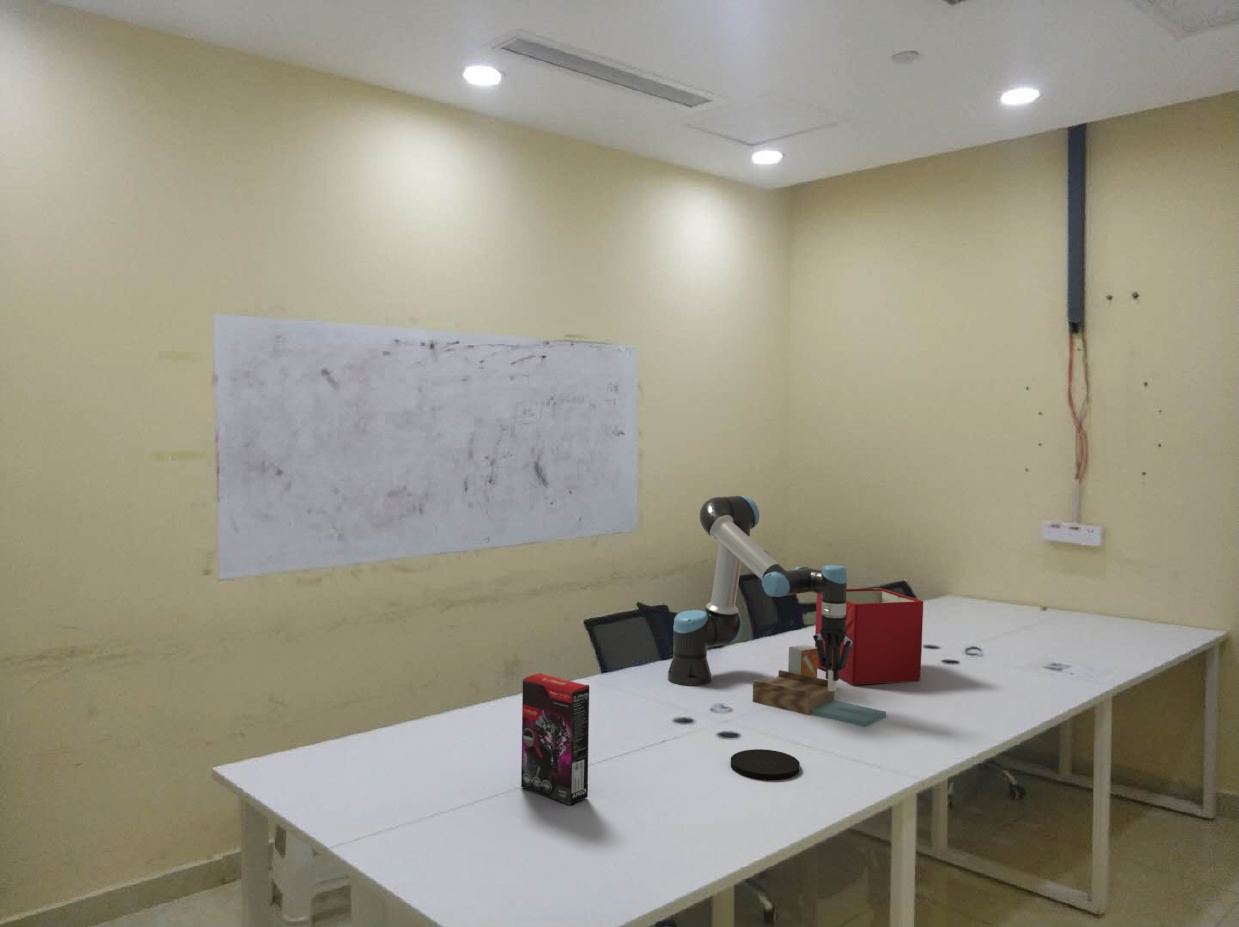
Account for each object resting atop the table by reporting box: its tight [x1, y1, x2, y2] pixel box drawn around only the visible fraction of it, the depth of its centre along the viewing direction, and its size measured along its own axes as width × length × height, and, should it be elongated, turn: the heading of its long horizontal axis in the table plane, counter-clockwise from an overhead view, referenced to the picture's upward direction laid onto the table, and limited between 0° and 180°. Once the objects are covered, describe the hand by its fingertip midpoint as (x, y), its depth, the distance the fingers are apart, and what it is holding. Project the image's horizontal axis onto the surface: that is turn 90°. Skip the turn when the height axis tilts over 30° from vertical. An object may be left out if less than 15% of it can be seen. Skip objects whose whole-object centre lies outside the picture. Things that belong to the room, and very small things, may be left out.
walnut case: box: [752, 669, 835, 716], centre depth 301 cm, size 20×17×7 cm
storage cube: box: [814, 587, 924, 686], centre depth 336 cm, size 32×28×29 cm
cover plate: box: [810, 699, 887, 728], centre depth 289 cm, size 18×14×2 cm
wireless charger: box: [730, 748, 801, 782], centre depth 243 cm, size 18×18×2 cm
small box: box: [787, 643, 818, 678], centre depth 321 cm, size 8×6×13 cm
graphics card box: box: [520, 673, 590, 805], centre depth 224 cm, size 17×7×27 cm, turn 51°
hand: (831, 690), depth 292 cm, fingers closed
